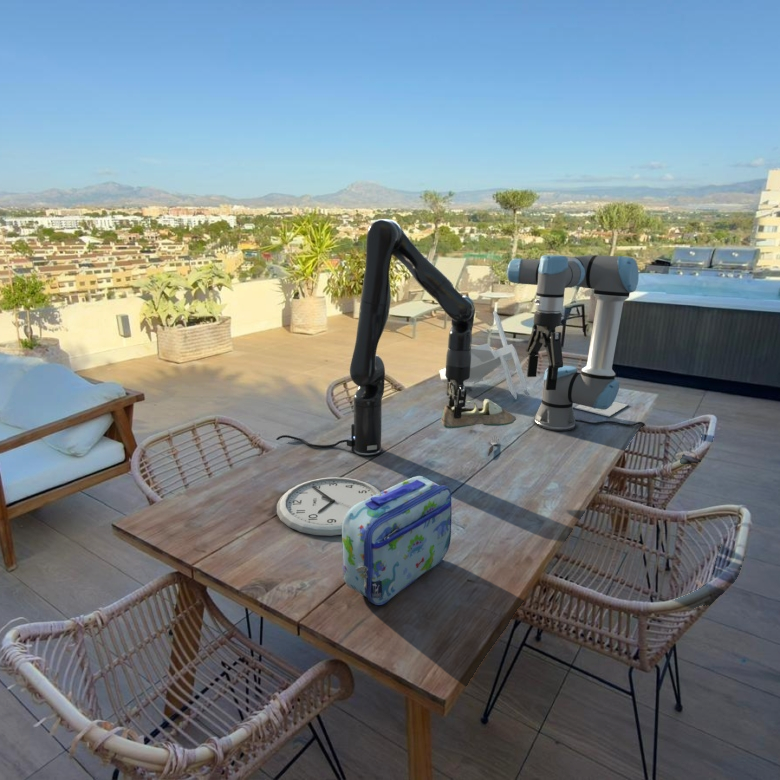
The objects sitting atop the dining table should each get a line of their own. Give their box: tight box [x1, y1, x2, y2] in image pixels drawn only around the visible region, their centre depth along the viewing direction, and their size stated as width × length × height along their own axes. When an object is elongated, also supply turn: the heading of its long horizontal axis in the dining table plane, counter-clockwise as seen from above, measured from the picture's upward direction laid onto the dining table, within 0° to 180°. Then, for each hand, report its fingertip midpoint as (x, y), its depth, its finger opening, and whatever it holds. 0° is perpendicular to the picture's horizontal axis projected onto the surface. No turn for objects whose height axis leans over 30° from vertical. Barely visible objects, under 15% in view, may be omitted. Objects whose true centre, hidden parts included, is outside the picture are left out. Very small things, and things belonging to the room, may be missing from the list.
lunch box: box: [341, 475, 453, 606], centre depth 111 cm, size 26×11×21 cm, turn 134°
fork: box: [487, 436, 500, 456], centre depth 181 cm, size 3×16×2 cm, turn 160°
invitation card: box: [573, 401, 629, 418], centre depth 226 cm, size 21×1×15 cm
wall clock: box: [276, 476, 382, 537], centre depth 142 cm, size 30×2×30 cm
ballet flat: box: [440, 398, 517, 429], centre depth 166 cm, size 8×25×8 cm, turn 100°
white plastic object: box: [438, 310, 531, 400], centre depth 245 cm, size 37×45×31 cm
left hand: (454, 414), depth 165 cm, fingers closed on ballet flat, 5 cm apart
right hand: (540, 382), depth 155 cm, fingers open, 13 cm apart
